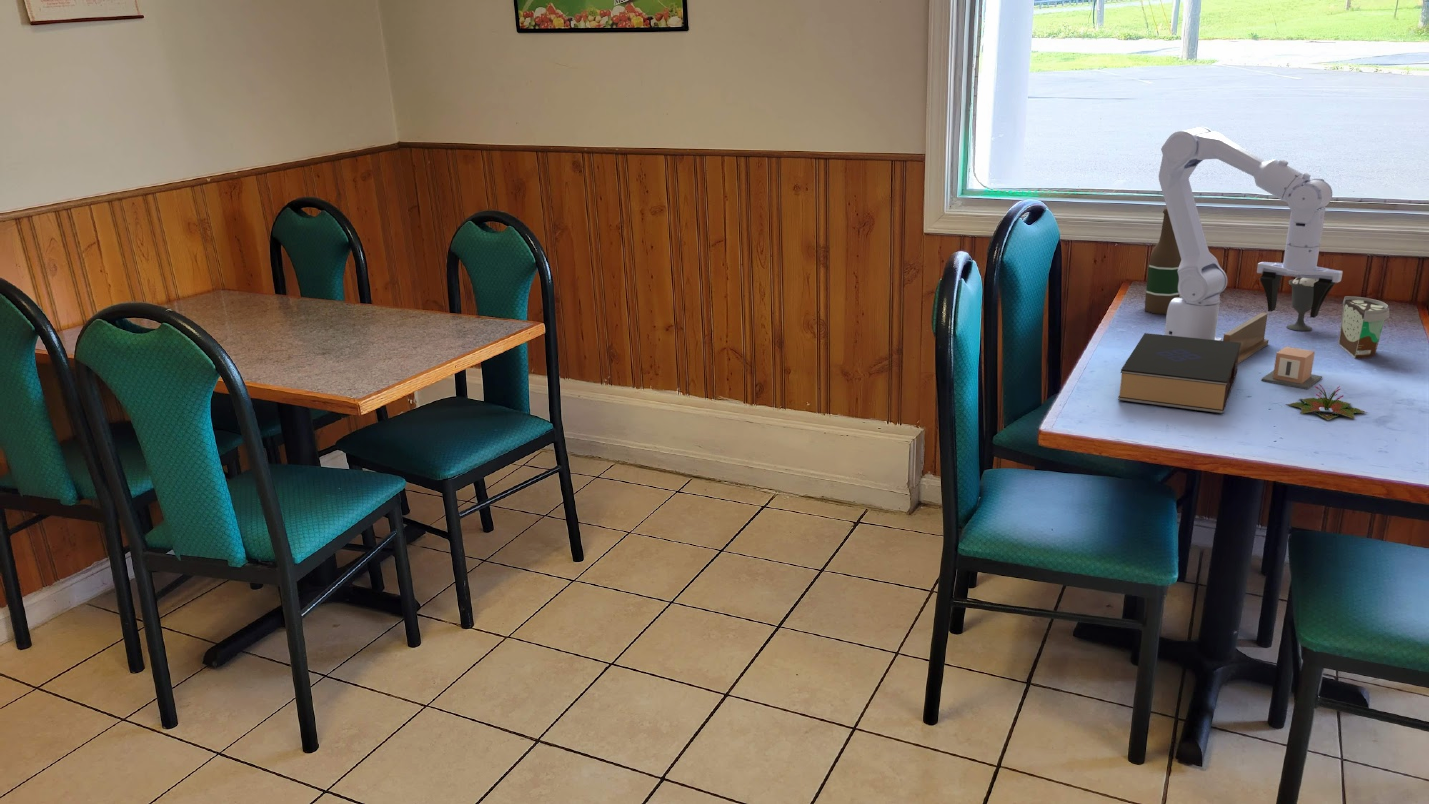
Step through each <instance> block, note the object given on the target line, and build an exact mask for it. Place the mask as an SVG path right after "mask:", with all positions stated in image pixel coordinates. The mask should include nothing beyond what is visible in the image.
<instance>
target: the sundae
mask: <svg viewBox="0 0 1429 804" xmlns="http://www.w3.org/2000/svg"><path fill="white" fill-rule="evenodd" d="M1317 281H1319V280H1317V279H1309V278H1301V277H1295V279H1290V280H1288V285H1290V286H1291V302H1292V303H1291V304H1292V308H1293V309H1294V310H1295V311H1296V312H1297V313H1298V315H1297V320H1296V322H1294V323H1293V324H1292V323H1291V324H1287V325H1286V328H1287V329H1288V330H1292V331H1295V332H1308V331H1309V332H1310V331H1312V330H1313V327H1312V326H1310V325H1307V324H1306V323H1305V314H1306V313H1308V312H1309V311H1311V308H1312V303H1313V294H1314V283H1315V282H1317Z"/></svg>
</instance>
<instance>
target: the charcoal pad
mask: <svg viewBox="0 0 1429 804" xmlns="http://www.w3.org/2000/svg"><path fill="white" fill-rule="evenodd" d="M1273 373H1274V369H1273V370H1272V371H1271V372H1269V373H1267V374H1266V375H1264V376H1263V377H1262V378H1261V379H1260V380H1261V382H1262V381H1263V382H1266V381H1267V382H1268V383H1270V384H1272V383H1273V384H1277V385H1281V386H1283V385H1284V386H1289V387H1294V388H1298V389H1299V388H1300V389H1304V390H1309V389H1310V388H1311V387H1312V386H1314V385H1316V383H1318V382H1319V381H1321V380H1322V379H1323V375H1317V374H1312V373H1311V377H1310V378H1309V379H1307V380H1306V381H1304V382H1303V383H1302V384H1301V383H1296V382H1290V381H1285V380H1280V379H1274V378H1273ZM1321 378H1322V379H1321Z"/></svg>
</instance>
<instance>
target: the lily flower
mask: <svg viewBox="0 0 1429 804" xmlns="http://www.w3.org/2000/svg"><path fill="white" fill-rule="evenodd" d="M1319 386H1320V388H1322V389H1320V388H1319ZM1340 387H1341V386H1340V385H1338V386H1337V388H1336V390H1334V391H1332V393H1331V394H1329V396H1327V395H1328V394H1327V393H1326V390H1325V389H1324V387H1323V386H1322V385H1321V384H1320V383H1319V385H1318V386H1314V388H1315V389H1318V390H1319V392H1318V393H1319V394H1317V393H1316V394H1315V396H1317V397H1318V398H1316V397H1308V398H1300V400H1301V401H1302V402H1300V401H1299V402H1298V401H1297V402H1291V403H1287V404H1285V405H1286V406H1290V407H1297V408H1299V409H1301V411H1300V413H1299V415H1303V414H1307V413H1311V412H1315V414H1316V415H1318V416H1320V417H1321V418H1324V420H1326V421H1329V420H1331V419H1334V418H1336V417H1339V416H1340V415H1342V416H1345V417H1348V418H1350V419H1352V420H1356V418H1355V416H1354V414H1360V413H1361V414H1364V413H1365V414H1366V413H1367V414H1369V412H1368V411H1365V410H1362V409H1359V408H1356V407H1350V406H1351V405H1352V403H1349V402H1347V401H1344V400H1341V398H1344V395H1340V396H1339V397H1337V398H1336V399H1333V398H1334V397H1336V396H1337V395H1338V391H1340V390H1341V388H1340ZM1320 408H1324V410H1325V411H1323V410H1321V409H1320ZM1330 409H1331V410H1332V413H1330V414H1327V415H1326V414H1325V412H1326V413H1327V411H1329V410H1330ZM1322 412H1324V413H1322Z"/></svg>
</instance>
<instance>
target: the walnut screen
mask: <svg viewBox="0 0 1429 804" xmlns="http://www.w3.org/2000/svg"><path fill="white" fill-rule="evenodd" d="M1268 315H1269V313H1267V312H1260V313H1259V314H1257V315H1255V316H1253V317H1251V318H1250V319H1248V320H1246V321H1245V322H1243V323H1241V324H1239V325H1237V326H1235V327H1234V328H1233V329H1231V330H1229V331H1227V332H1225V333H1224V334H1223V338H1222V341H1230V342H1240V343H1241V346H1240V349H1239V356H1238V364H1240V363H1242V362H1243V361H1244V360H1246V359H1248V358H1249V357H1251V356H1252V355H1254V354H1256V353H1257V352H1258V351H1260V350H1261V349H1263V348H1265V347H1266V346H1268V345H1269V339H1266V338H1265V335H1266V328H1267V321H1268Z"/></svg>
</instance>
